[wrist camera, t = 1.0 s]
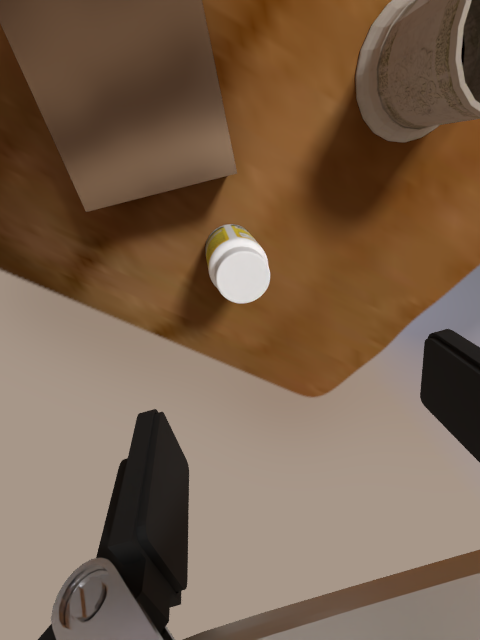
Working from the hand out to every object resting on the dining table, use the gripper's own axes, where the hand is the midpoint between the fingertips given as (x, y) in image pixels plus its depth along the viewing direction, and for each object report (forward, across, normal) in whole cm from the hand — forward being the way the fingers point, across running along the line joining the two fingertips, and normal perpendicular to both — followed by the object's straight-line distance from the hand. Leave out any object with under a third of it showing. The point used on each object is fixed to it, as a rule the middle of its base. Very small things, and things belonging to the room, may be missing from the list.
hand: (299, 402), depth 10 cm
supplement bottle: (+21, 0, 0) cm, 21 cm away
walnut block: (+21, +4, -12) cm, 24 cm away
